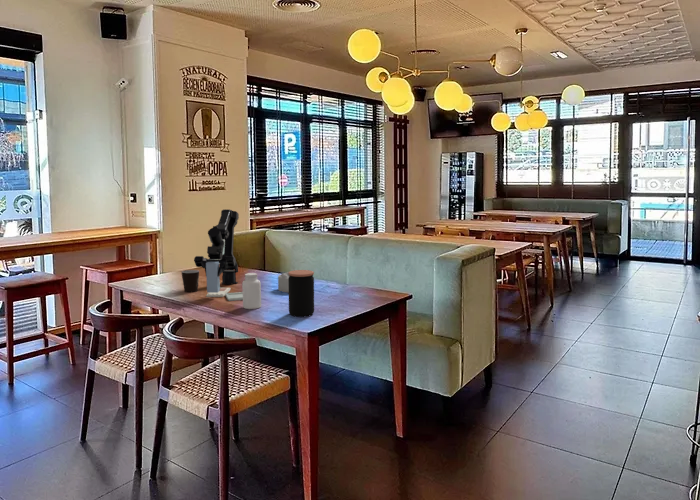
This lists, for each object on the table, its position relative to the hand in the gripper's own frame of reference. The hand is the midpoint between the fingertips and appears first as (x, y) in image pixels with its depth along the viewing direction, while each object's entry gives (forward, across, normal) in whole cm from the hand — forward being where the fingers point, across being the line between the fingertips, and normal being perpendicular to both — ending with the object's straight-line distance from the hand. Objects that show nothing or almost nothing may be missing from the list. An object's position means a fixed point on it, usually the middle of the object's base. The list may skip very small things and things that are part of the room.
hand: (212, 276), depth 262 cm
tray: (+6, +12, +9) cm, 16 cm away
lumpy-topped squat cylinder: (-6, +34, +22) cm, 41 cm away
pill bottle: (+20, +22, -4) cm, 29 cm away
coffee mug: (-4, -15, +20) cm, 25 cm away
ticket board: (0, 0, +16) cm, 16 cm away
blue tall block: (+4, 0, +6) cm, 8 cm away
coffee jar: (+28, +45, -13) cm, 54 cm away
